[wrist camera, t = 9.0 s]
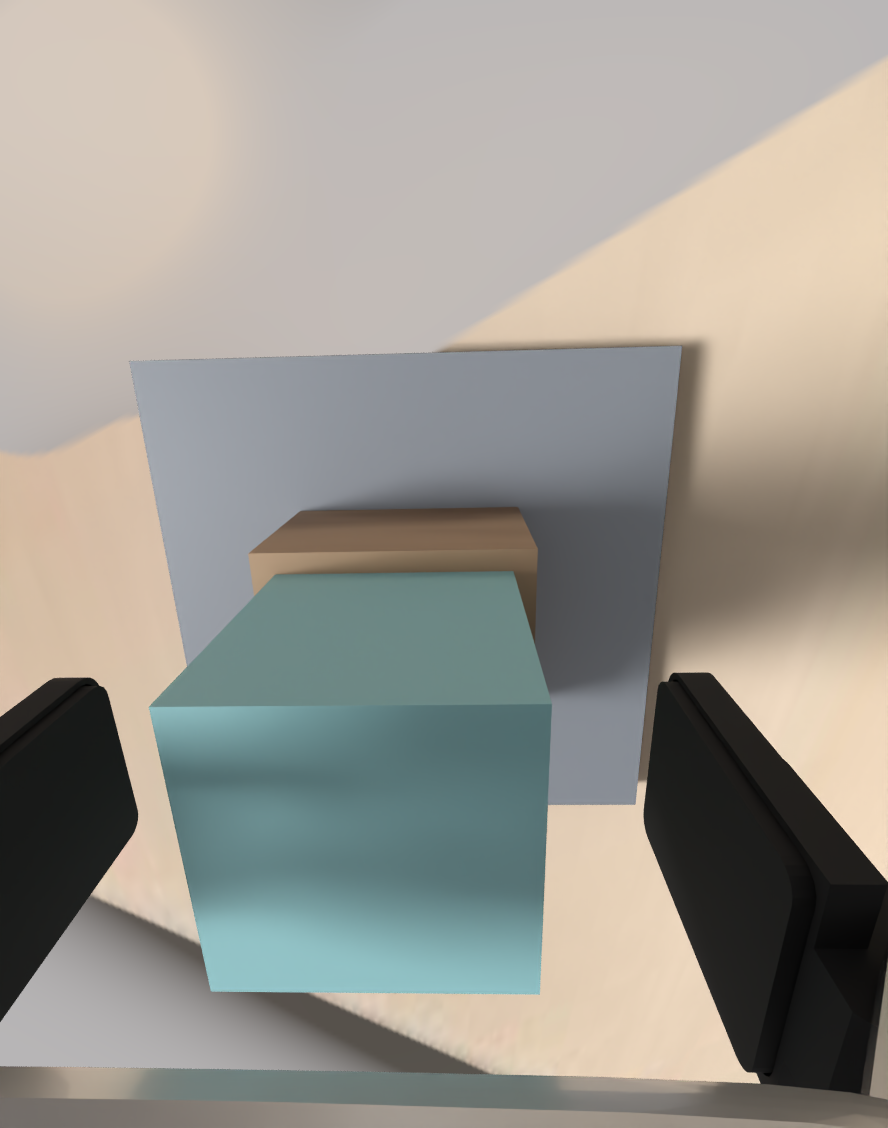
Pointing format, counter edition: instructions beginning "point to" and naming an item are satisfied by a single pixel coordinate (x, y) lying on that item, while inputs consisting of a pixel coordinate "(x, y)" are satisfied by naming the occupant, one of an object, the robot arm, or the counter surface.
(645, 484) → the plate
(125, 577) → the counter surface
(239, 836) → the teal block
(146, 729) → the counter surface
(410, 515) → the walnut base
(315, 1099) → the robot arm
